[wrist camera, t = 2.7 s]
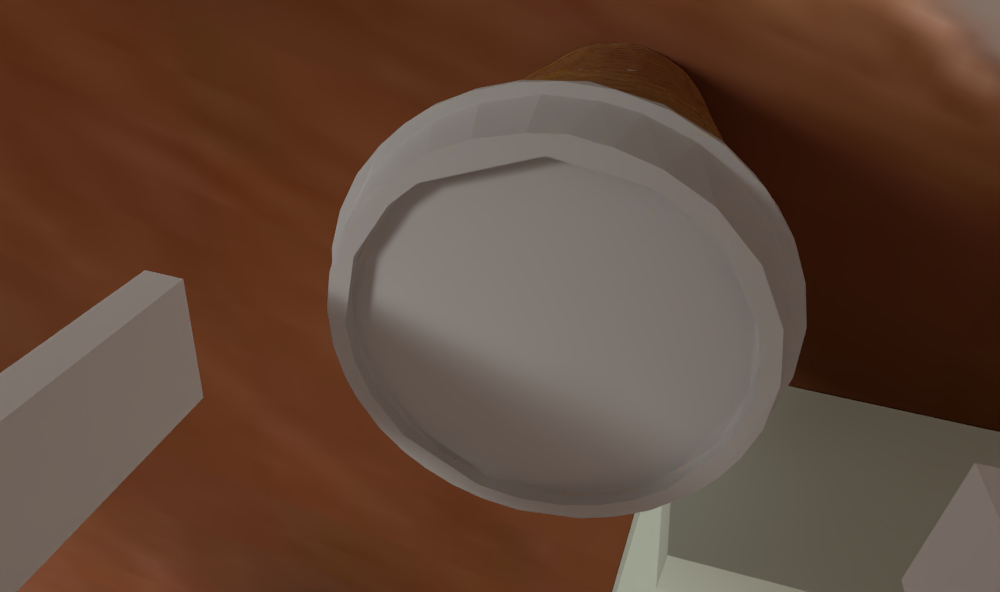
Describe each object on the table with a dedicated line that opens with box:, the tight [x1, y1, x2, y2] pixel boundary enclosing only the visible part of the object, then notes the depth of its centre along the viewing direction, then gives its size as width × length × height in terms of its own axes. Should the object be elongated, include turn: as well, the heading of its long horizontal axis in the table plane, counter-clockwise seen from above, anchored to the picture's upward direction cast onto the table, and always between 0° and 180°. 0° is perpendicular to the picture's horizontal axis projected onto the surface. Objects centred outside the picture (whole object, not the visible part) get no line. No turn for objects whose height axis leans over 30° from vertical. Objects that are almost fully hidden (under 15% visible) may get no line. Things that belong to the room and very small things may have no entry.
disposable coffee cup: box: [327, 43, 807, 518], centre depth 18 cm, size 10×10×12 cm
